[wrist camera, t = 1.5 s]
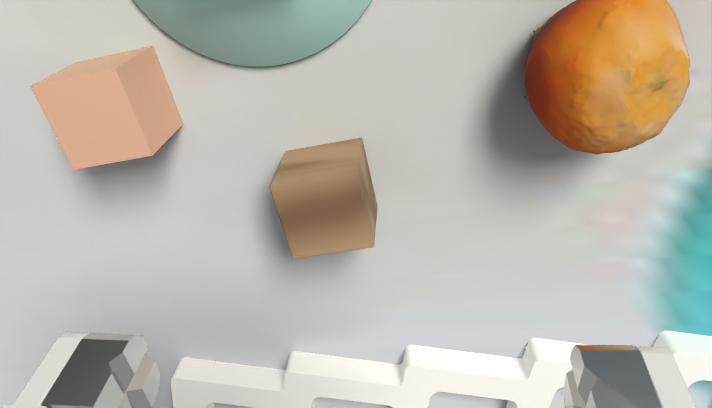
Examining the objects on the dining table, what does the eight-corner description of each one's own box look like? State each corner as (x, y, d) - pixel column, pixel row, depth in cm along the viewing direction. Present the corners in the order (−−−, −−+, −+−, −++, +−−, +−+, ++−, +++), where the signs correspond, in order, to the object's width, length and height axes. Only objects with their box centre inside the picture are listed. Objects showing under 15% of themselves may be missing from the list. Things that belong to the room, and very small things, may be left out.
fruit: (476, 7, 29) (600, 18, 22) (589, -28, 31) (730, -29, 25) (489, 148, 33) (599, 192, 26) (588, 106, 35) (711, 136, 28)
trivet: (187, 424, 50) (177, 450, 48) (175, 264, 41) (161, 286, 39) (684, 489, 49) (698, 519, 47) (780, 340, 40) (804, 368, 38)
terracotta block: (183, 123, 35) (152, 155, 31) (113, 136, 36) (72, 169, 31) (153, 45, 33) (115, 68, 28) (78, 61, 33) (30, 86, 29)
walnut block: (377, 205, 37) (373, 247, 32) (305, 216, 38) (293, 258, 33) (361, 137, 34) (355, 172, 30) (286, 150, 35) (269, 186, 31)
